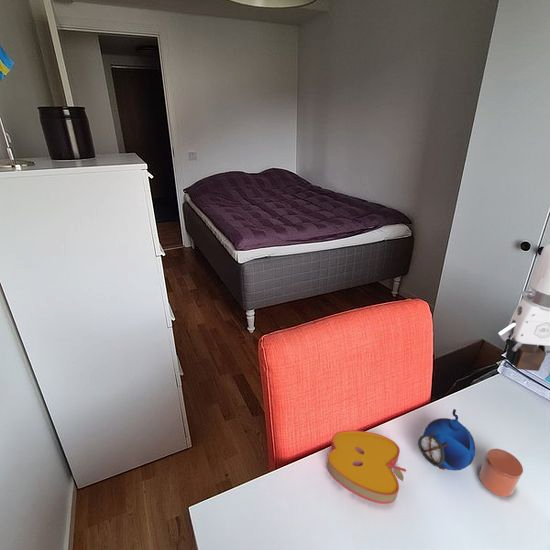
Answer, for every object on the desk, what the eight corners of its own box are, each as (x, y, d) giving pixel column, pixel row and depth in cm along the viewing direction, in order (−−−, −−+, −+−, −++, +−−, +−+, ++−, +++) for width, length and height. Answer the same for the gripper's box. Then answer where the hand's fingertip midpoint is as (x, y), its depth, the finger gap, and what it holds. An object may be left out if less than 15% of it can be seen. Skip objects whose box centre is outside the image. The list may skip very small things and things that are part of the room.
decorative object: (321, 488, 67) (402, 516, 62) (323, 475, 65) (406, 503, 61) (334, 434, 79) (402, 455, 74) (336, 421, 77) (406, 442, 73)
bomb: (405, 451, 75) (419, 399, 69) (440, 434, 79) (456, 384, 73) (442, 491, 67) (461, 436, 61) (478, 470, 72) (500, 417, 65)
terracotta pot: (504, 470, 72) (513, 450, 69) (519, 498, 66) (529, 478, 64) (474, 466, 72) (482, 446, 70) (486, 494, 67) (496, 474, 64)
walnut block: (527, 358, 86) (533, 341, 84) (538, 371, 82) (545, 354, 80) (506, 356, 87) (512, 339, 85) (516, 369, 82) (522, 352, 80)
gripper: (515, 302, 74) (492, 369, 82) (601, 308, 73) (569, 376, 80) (499, 287, 81) (479, 350, 89) (577, 292, 79) (550, 356, 87)
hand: (522, 362), depth 84 cm, fingers closed on walnut block, 5 cm apart
